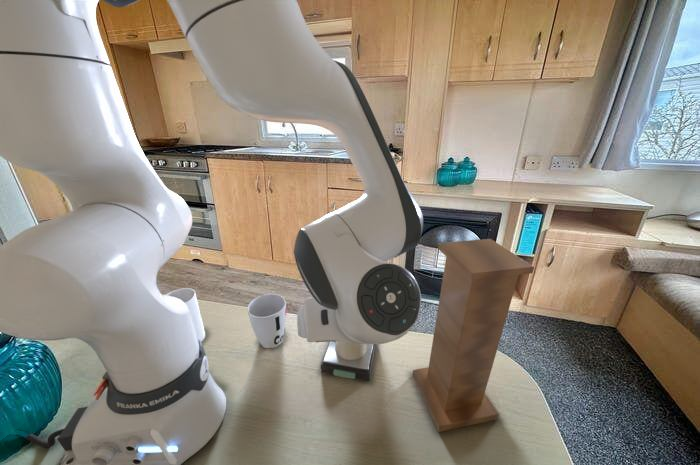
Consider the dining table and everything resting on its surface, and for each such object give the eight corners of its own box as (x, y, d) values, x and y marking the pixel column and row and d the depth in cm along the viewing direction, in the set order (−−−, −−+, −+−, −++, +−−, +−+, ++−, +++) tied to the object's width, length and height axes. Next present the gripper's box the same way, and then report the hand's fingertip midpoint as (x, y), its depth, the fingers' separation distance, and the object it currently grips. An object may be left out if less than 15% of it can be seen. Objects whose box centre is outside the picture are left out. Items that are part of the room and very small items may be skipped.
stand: (438, 432, 46) (469, 278, 34) (412, 375, 56) (429, 240, 44) (497, 419, 48) (547, 270, 36) (462, 366, 58) (492, 235, 46)
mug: (185, 328, 68) (172, 287, 63) (211, 329, 67) (201, 288, 63) (157, 362, 58) (139, 317, 54) (188, 363, 58) (173, 319, 53)
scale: (320, 374, 56) (319, 364, 55) (334, 336, 65) (333, 327, 64) (369, 383, 54) (369, 373, 53) (376, 343, 63) (376, 334, 62)
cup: (280, 356, 60) (275, 320, 56) (246, 350, 61) (239, 314, 57) (294, 329, 67) (291, 296, 63) (264, 325, 69) (258, 291, 65)
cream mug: (337, 362, 55) (336, 323, 51) (331, 329, 64) (330, 293, 60) (370, 357, 56) (372, 318, 52) (360, 325, 65) (361, 289, 61)
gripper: (421, 286, 45) (396, 298, 58) (294, 299, 42) (297, 309, 54) (429, 326, 43) (401, 330, 56) (296, 344, 39) (299, 343, 52)
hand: (349, 320), depth 55 cm, fingers open, 8 cm apart
